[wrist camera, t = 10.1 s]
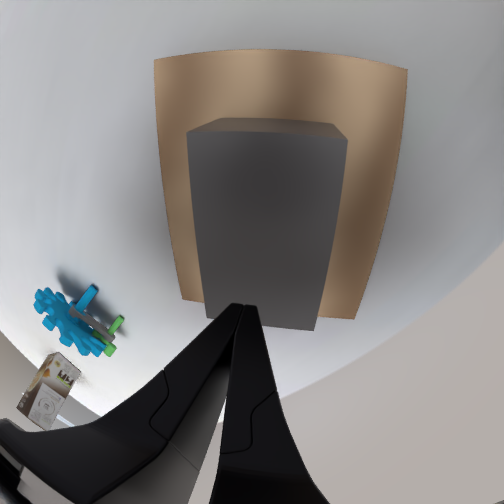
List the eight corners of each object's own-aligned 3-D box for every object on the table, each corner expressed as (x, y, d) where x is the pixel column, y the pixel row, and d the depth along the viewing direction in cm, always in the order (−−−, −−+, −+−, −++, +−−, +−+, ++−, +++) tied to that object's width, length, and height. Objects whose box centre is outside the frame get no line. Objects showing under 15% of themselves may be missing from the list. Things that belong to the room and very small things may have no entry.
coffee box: (58, 350, 40) (21, 412, 27) (81, 371, 42) (48, 433, 29) (47, 354, 44) (15, 408, 31) (68, 373, 46) (39, 426, 33)
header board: (401, 70, 11) (426, 67, 8) (353, 310, 21) (357, 344, 18) (161, 60, 13) (130, 58, 10) (186, 291, 23) (171, 321, 20)
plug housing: (332, 123, 13) (348, 139, 9) (313, 274, 18) (313, 331, 14) (221, 117, 14) (186, 132, 10) (227, 265, 19) (206, 317, 15)
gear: (40, 286, 26) (20, 317, 17) (65, 249, 27) (51, 268, 18) (105, 338, 31) (110, 381, 22) (130, 305, 32) (142, 341, 24)
